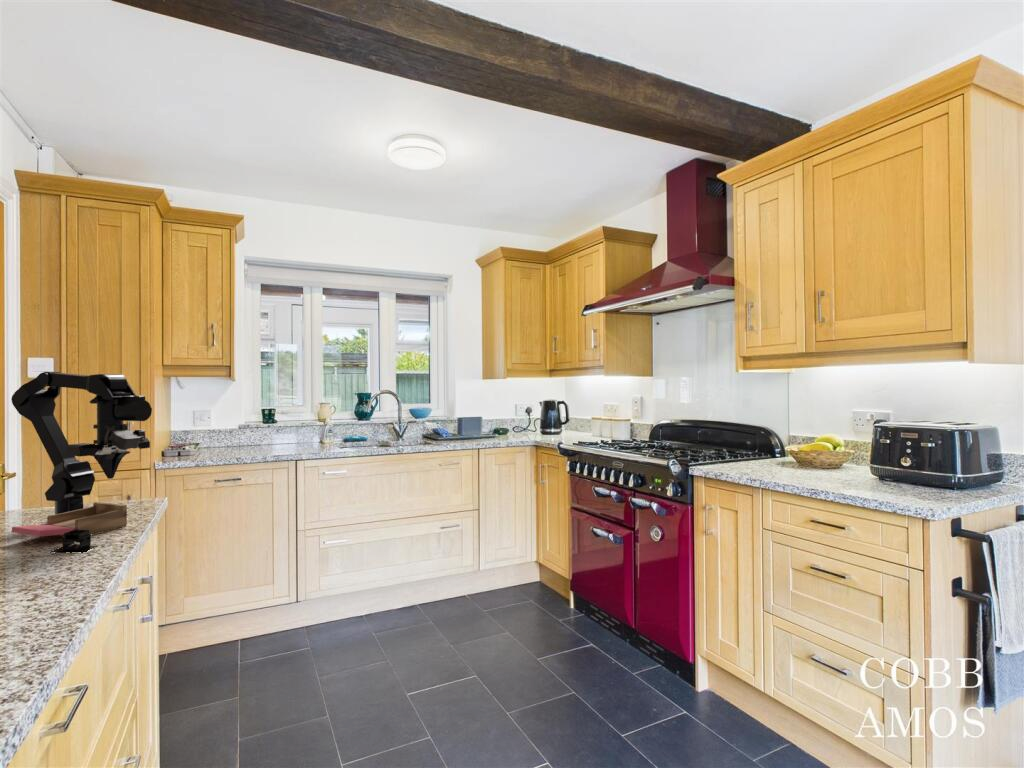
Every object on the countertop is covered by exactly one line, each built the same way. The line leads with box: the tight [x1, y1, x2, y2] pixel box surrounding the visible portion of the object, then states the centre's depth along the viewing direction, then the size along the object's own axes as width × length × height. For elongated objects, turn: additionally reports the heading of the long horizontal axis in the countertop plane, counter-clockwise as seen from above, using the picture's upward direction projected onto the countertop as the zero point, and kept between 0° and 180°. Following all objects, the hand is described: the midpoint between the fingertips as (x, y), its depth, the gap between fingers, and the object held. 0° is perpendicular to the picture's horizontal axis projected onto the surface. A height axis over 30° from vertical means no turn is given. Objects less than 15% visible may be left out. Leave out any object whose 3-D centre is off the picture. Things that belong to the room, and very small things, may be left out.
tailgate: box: [10, 524, 75, 539], centre depth 130 cm, size 10×2×8 cm
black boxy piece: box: [49, 530, 98, 554], centre depth 125 cm, size 12×7×5 cm, turn 89°
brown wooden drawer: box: [46, 501, 128, 537], centre depth 140 cm, size 11×12×6 cm
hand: (110, 478), depth 147 cm, fingers closed
